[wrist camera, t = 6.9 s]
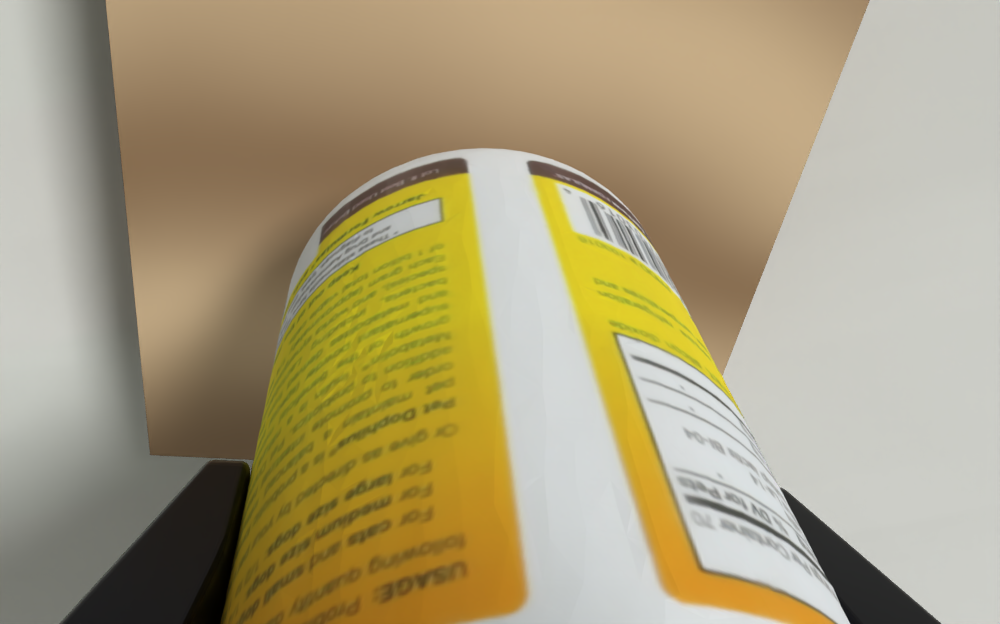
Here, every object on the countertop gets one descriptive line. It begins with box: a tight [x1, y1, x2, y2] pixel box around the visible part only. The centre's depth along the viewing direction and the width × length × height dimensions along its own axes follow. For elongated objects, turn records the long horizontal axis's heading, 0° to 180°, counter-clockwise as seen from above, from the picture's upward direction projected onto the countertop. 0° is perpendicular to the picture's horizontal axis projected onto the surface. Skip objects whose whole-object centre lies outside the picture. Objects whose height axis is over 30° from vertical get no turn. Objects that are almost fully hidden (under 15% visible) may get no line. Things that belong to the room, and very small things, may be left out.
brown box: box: [106, 0, 870, 460], centre depth 15 cm, size 11×11×3 cm
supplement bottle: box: [220, 148, 850, 624], centre depth 8 cm, size 6×6×10 cm
